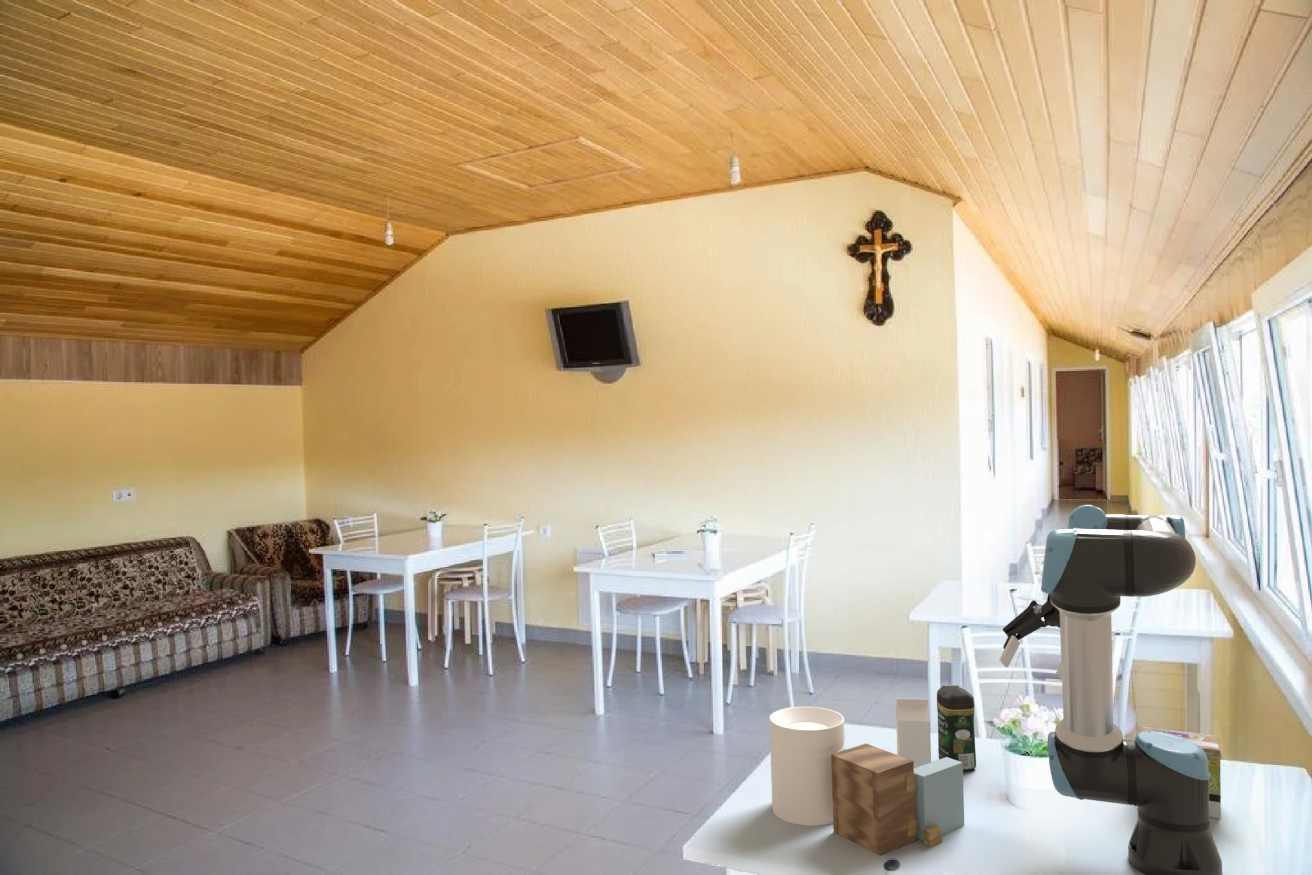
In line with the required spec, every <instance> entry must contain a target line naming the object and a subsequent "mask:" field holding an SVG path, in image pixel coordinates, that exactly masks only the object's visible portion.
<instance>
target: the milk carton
mask: <svg viewBox="0 0 1312 875" xmlns="http://www.w3.org/2000/svg"><path fill="white" fill-rule="evenodd" d="M895 702H896V707H895V718H896V719H895V720H896V723H895V724H896V725H895V726H896V751H897V752H896V755H899V756H901V757H904V758H907V759H909V760H912V761H913V763H914V768H917V767H920V766H923V765H925V764H928V763H931V762H932V749H931V747H932V744H931V718H930V717H931V716H930V709H929V708H930V707H929V699H928V698H904V697H903V698H902V697H901V698H898V697H897V698H896V701H895Z"/></svg>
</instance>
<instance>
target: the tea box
mask: <svg viewBox="0 0 1312 875" xmlns="http://www.w3.org/2000/svg"><path fill="white" fill-rule="evenodd" d="M1143 731H1146V732H1149V731H1155V732H1162V733H1167V734H1171V735H1175V736H1178V737H1181V738H1184V739H1186V740H1189V741H1191V742H1193V743H1194V744H1196V745H1198V746H1199V747H1200V748H1201V749H1202V750H1203V751H1204V752H1205V753H1206V756H1207V759H1208V772H1209V774H1210V779H1209V780H1208V784H1209V813H1210V819H1215V818H1218V819H1217V820H1220V819H1221V813H1222V812H1221V811H1222V808H1221V806H1222V793H1221V790H1222V787H1221V784H1222V783H1221V749H1220V745H1219V740H1218V739H1219V738H1218V735H1216V734H1208V733H1201V732H1199V733H1198V732H1190V731H1183V730H1176V729H1175V730H1174V729H1168V728H1167V729H1166V728H1159V727H1151V726H1142V725H1139V727H1138V733H1139V732H1143Z"/></svg>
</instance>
